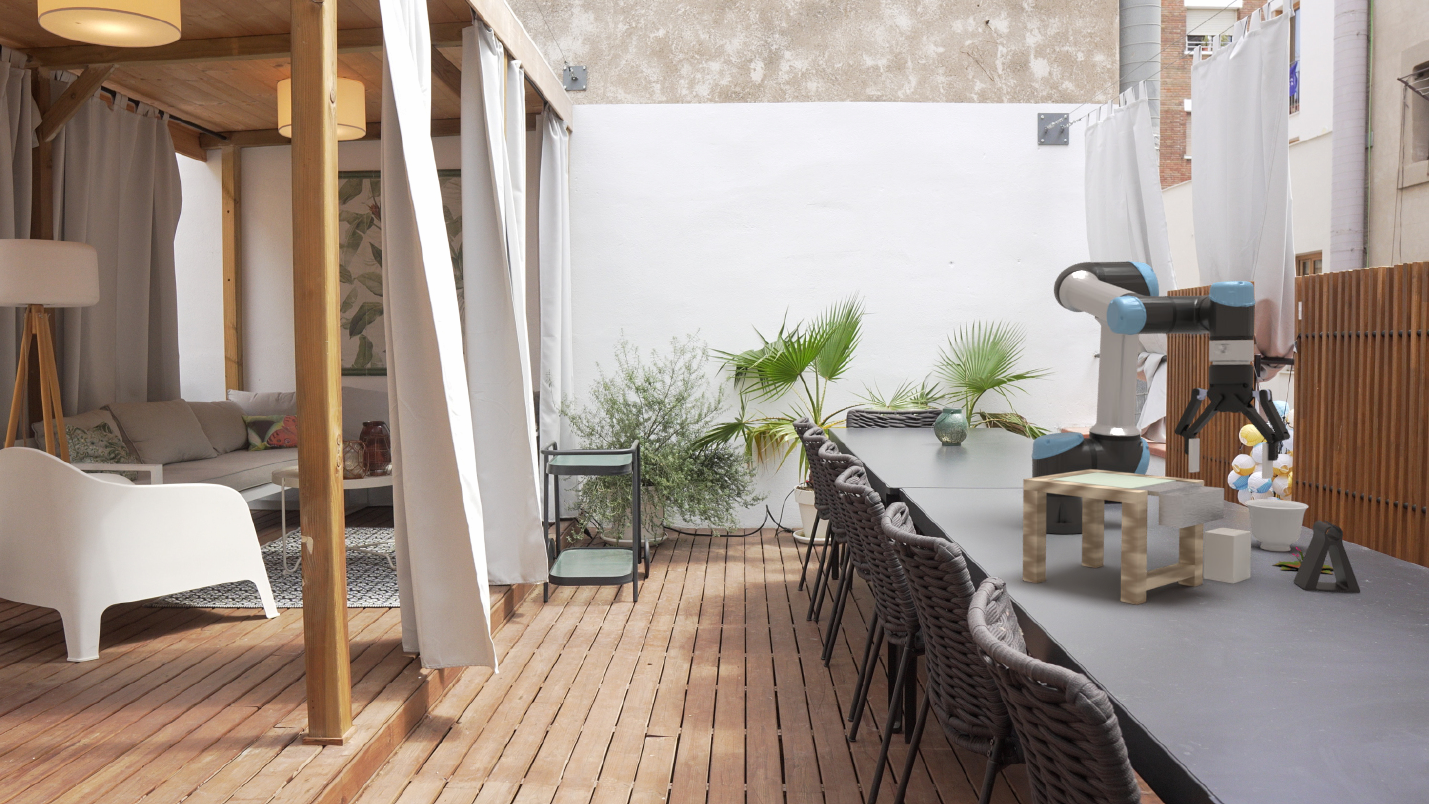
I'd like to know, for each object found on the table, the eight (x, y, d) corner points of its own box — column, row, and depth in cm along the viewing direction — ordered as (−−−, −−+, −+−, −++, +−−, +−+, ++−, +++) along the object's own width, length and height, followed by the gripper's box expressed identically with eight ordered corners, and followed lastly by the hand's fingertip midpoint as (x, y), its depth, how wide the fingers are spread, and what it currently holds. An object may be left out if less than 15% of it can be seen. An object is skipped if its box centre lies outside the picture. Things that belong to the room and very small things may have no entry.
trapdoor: (1224, 518, 175) (1225, 485, 174) (1179, 528, 165) (1180, 494, 165) (1097, 501, 195) (1097, 472, 194) (1050, 510, 185) (1050, 479, 185)
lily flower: (1271, 573, 192) (1271, 550, 192) (1269, 562, 202) (1269, 540, 202) (1343, 580, 186) (1344, 556, 186) (1337, 567, 197) (1337, 545, 197)
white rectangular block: (1203, 578, 187) (1204, 531, 186) (1221, 573, 191) (1221, 527, 191) (1233, 583, 182) (1233, 536, 182) (1250, 578, 187) (1251, 531, 186)
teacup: (1284, 541, 221) (1285, 497, 220) (1318, 555, 206) (1319, 508, 206) (1229, 540, 222) (1229, 497, 222) (1258, 554, 207) (1259, 507, 207)
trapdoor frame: (1022, 580, 186) (1023, 479, 185) (1090, 563, 200) (1091, 469, 199) (1137, 604, 168) (1138, 492, 167) (1202, 584, 182) (1204, 480, 181)
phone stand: (1347, 585, 180) (1349, 521, 180) (1360, 593, 174) (1362, 526, 174) (1293, 582, 182) (1294, 519, 182) (1304, 590, 177) (1305, 525, 176)
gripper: (1157, 363, 192) (1156, 470, 193) (1293, 363, 172) (1291, 482, 173) (1176, 363, 197) (1175, 468, 198) (1311, 363, 177) (1309, 479, 178)
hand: (1229, 475), depth 185 cm, fingers open, 13 cm apart
